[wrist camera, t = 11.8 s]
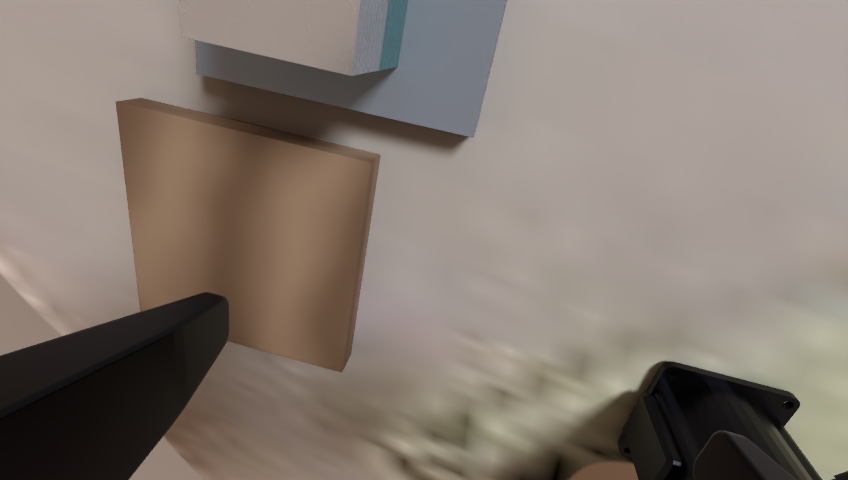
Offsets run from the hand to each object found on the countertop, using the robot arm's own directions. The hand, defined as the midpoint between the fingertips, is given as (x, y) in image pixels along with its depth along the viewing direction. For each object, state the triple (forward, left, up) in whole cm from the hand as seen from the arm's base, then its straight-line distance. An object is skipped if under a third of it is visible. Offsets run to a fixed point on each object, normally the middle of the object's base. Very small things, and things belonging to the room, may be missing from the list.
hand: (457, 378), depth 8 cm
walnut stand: (+11, +6, -13) cm, 18 cm away
